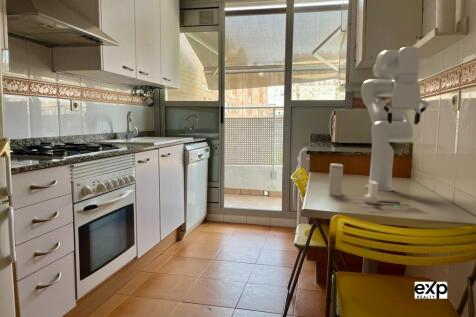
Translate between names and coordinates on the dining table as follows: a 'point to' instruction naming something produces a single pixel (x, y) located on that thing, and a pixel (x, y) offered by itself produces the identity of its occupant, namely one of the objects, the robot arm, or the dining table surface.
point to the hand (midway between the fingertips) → (402, 123)
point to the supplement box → (335, 179)
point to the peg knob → (375, 195)
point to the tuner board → (385, 206)
